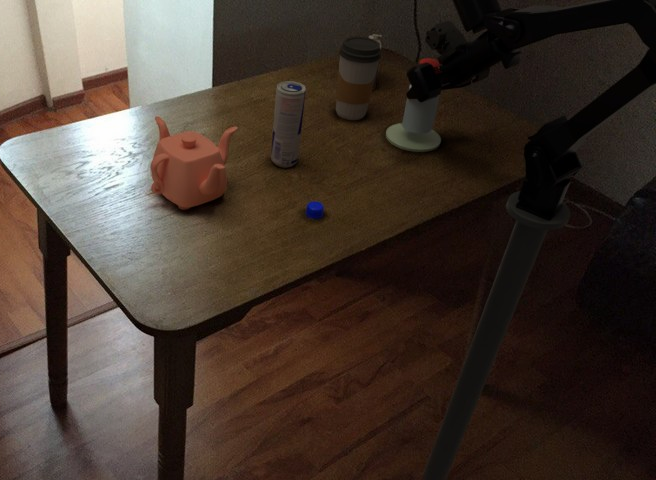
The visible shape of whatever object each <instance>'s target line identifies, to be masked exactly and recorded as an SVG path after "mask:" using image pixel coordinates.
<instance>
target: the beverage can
mask: <svg viewBox="0 0 656 480" xmlns="http://www.w3.org/2000/svg"><path fill="white" fill-rule="evenodd" d="M306 90H307V88H306V86H305V85H304V84H303V83H300V82H299V81H292V80H287V81H281V82H279V83H278V84H277V85H276V90H275V100H274V101H275V102H274V114H273V125H272V126H273V127H272V138H271V149H270V151H271V152H270V160H271V161H272V163H273V164H274V165H275V166H277V167H279V168H285V169H286V168H291V167H293V166H294V165H296V164H297V163H298V162H299V156H300V155H299V154H300V147H301V136H302V130H303V129H302V128H303V120H304V109H305V102H306Z"/></svg>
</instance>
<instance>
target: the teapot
mask: <svg viewBox="0 0 656 480" xmlns="http://www.w3.org/2000/svg"><path fill="white" fill-rule="evenodd" d="M154 120H155V122H156V124H157V127H158V131H159V137H158V139H159V140H158V142H157V144H156V147H155V149H154V153H153V157H152V160H151V162H150V172H151V173H150V174H151V179H152V182H153V183H151V187H150V189H151V191H152V193H153V194H155V195H161V194H162V196H164V198H166V199H167V200H169V201H170V202H172V203H174V204H175V205H177V207H178V209H180V210H182V211H183V210H184V211H185V210H190V209H191V208H193V207H196V206H200V205H203V204H205V203H208V202H212V201H214V200H217V199H218V198H220V197H222V196H223V195H224V193H225V191H226V189H227V186H228V178H227V177H228V176H227V171H226V163H227V160H228V157H229V149H230V141H231V138H232V136H233V134H234V133H235V132H236V131H237V130H238V126H231V127H229V128H227V129H226V130H225V131H224V132H223V134H222V135H221V137H220V140H219V142H218V145H216V144H215V143H214V142H212V141H211V140H210V139H209V138H207V137H206V136H204V135H203V134H201V133H199V132H196V131H193V130H188V131H184V132H180V133H176V134H173V135H171V133H170V131H169V128H168V126H167V124H166V122H165V120H164V119H163V118H162V117H160V116H157V115H155V116H154Z"/></svg>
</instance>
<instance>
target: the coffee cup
mask: <svg viewBox="0 0 656 480" xmlns="http://www.w3.org/2000/svg"><path fill="white" fill-rule="evenodd" d="M381 58H382V48H381V49H380V44H379V42H377V41H376V40H374V39H371V38H368V36H367V37H366V36H359V35H357V36H356V35H355V36H349V37H346V38H344V39H343V42H342V44H341V45H340V49H339V64H338V70H337V71H338V72H337V83H336V98H335V99H336V102H335V103H336V104H335V111H336V114H337V116H338V117H340V118H341V119H344V120H347V121H359V120H362V119H363V118H364V117H365V116H366V114H367V111H368V107H369V104H370V101H371V97H372V92H373V90H374V89H373V85H374V81H375V77H376V71H377V67H378V68H379V65H378V63H379V64H380V60H381ZM377 72H378V71H377ZM376 78H377V77H376Z"/></svg>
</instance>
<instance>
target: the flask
mask: <svg viewBox="0 0 656 480" xmlns="http://www.w3.org/2000/svg"><path fill="white" fill-rule="evenodd" d="M382 37H383V36H382V34H375V33H373V34H372V35H368V36H367V38H371V39H374V40H376V41H377V42H379V44H380V49H381V50H382V48H383V46H382V45H383V44H382V42H381V39H380V38H382ZM379 65H380V62H379V63H378V67H377V71H376V77H375V81H374V85H373V89H372V90H375V89H376V87H377V76H378V72H379V71H378V70H379Z"/></svg>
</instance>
